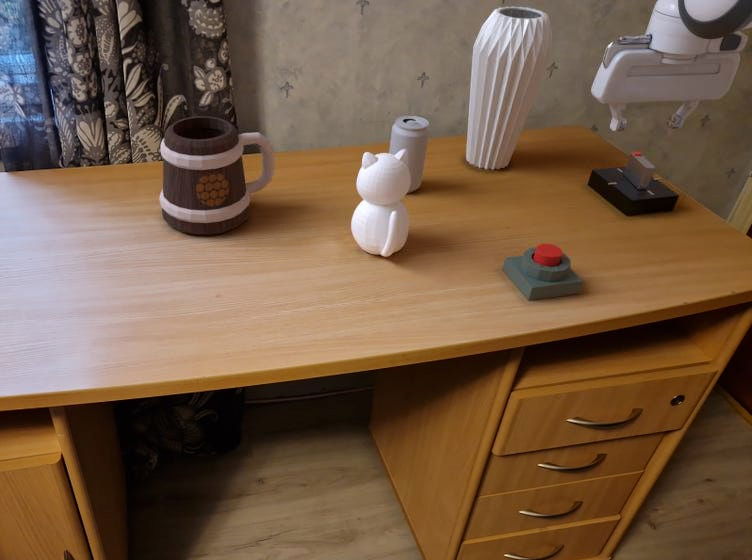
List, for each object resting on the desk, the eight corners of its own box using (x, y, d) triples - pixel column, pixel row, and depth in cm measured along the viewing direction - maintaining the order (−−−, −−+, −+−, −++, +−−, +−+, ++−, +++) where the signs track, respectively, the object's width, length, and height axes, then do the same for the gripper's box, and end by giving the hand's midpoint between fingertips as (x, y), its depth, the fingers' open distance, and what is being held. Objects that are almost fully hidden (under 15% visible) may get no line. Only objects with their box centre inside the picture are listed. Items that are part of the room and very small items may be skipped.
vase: (437, 158, 132) (463, 10, 115) (481, 141, 138) (512, -2, 121) (493, 182, 124) (529, 28, 107) (536, 163, 130) (578, 14, 113)
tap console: (675, 210, 117) (683, 194, 115) (623, 216, 115) (629, 199, 113) (633, 180, 126) (639, 163, 123) (584, 184, 124) (589, 168, 122)
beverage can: (407, 175, 126) (416, 111, 118) (427, 190, 122) (438, 124, 114) (378, 182, 124) (385, 117, 116) (397, 197, 120) (407, 131, 112)
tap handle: (647, 189, 116) (656, 166, 113) (637, 189, 116) (647, 166, 113) (631, 173, 121) (640, 151, 118) (622, 174, 121) (631, 151, 118)
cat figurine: (392, 224, 112) (405, 136, 103) (421, 265, 103) (437, 172, 93) (340, 230, 111) (348, 141, 101) (364, 271, 102) (375, 178, 92)
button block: (578, 293, 98) (587, 270, 95) (528, 300, 96) (535, 276, 94) (550, 264, 104) (557, 241, 101) (502, 270, 102) (508, 247, 100)
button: (564, 265, 97) (567, 255, 95) (541, 268, 96) (544, 258, 95) (551, 252, 99) (554, 242, 98) (528, 255, 99) (531, 244, 97)
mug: (176, 245, 107) (167, 154, 97) (150, 203, 117) (140, 117, 107) (291, 222, 113) (294, 134, 103) (257, 183, 123) (257, 100, 113)
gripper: (621, 42, 94) (590, 139, 103) (759, 38, 96) (717, 133, 105) (600, 29, 99) (572, 123, 108) (731, 25, 100) (693, 118, 109)
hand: (644, 128), depth 106 cm, fingers open, 8 cm apart
